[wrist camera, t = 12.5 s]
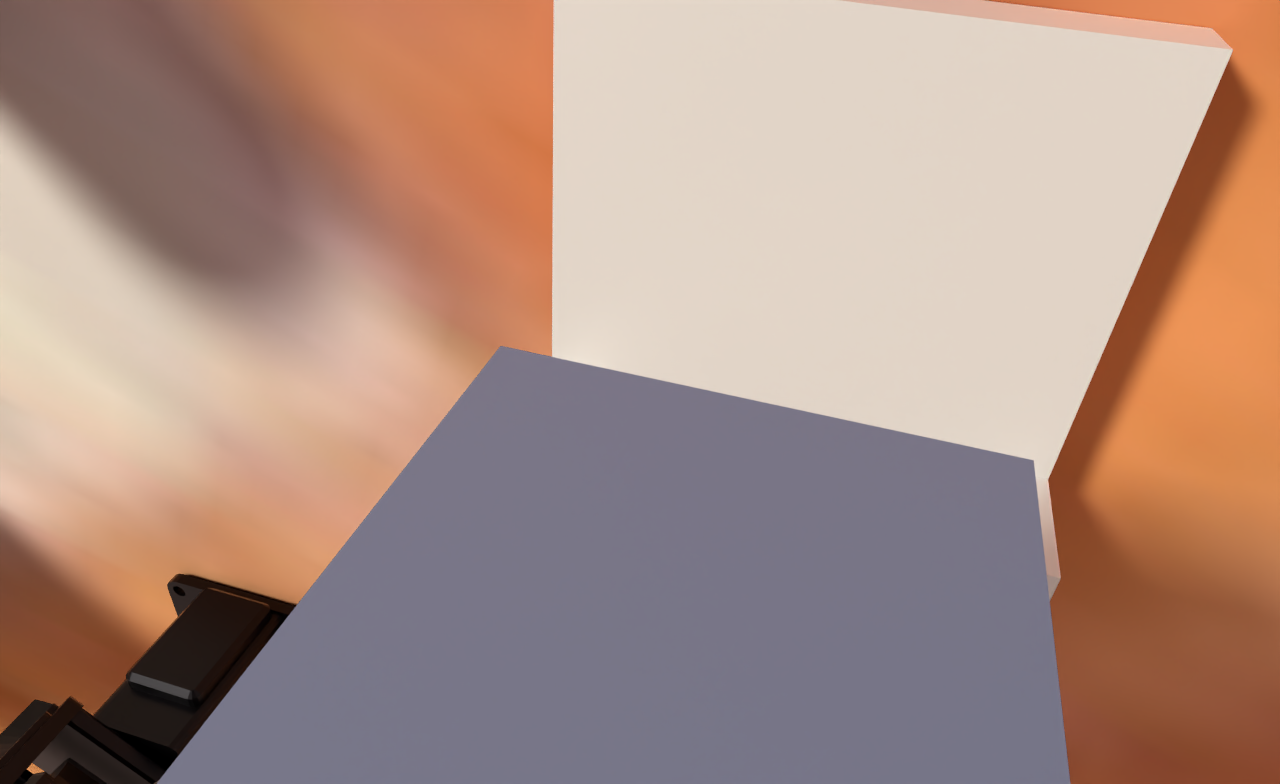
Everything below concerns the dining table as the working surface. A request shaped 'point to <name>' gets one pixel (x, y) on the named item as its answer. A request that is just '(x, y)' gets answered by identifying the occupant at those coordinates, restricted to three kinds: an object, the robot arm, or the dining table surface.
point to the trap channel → (866, 202)
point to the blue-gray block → (662, 606)
